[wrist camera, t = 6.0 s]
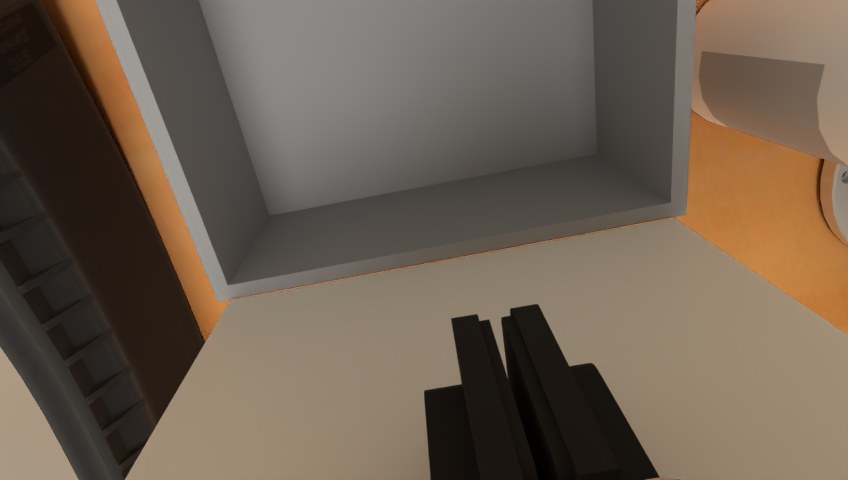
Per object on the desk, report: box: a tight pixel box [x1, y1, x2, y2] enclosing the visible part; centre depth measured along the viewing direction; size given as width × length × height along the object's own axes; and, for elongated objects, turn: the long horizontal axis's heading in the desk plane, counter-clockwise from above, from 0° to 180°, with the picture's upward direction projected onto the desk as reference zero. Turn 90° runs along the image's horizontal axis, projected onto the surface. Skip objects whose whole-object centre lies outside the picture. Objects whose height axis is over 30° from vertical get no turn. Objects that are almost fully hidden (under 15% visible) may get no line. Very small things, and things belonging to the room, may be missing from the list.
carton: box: [95, 0, 696, 302], centre depth 20 cm, size 18×14×8 cm
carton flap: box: [125, 218, 848, 480], centre depth 13 cm, size 17×13×1 cm
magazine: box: [0, 0, 204, 480], centre depth 23 cm, size 17×3×30 cm
